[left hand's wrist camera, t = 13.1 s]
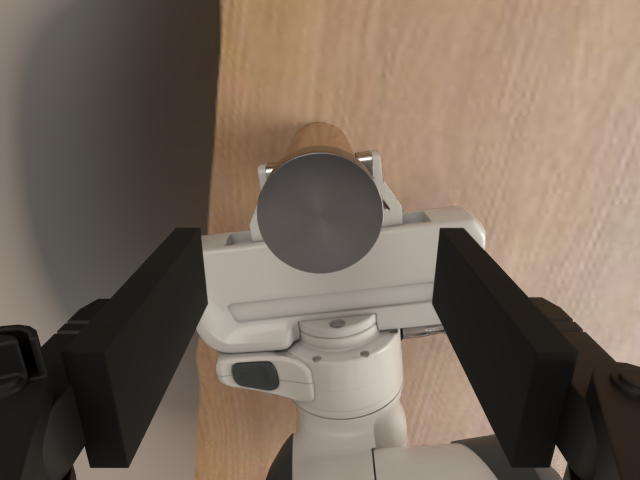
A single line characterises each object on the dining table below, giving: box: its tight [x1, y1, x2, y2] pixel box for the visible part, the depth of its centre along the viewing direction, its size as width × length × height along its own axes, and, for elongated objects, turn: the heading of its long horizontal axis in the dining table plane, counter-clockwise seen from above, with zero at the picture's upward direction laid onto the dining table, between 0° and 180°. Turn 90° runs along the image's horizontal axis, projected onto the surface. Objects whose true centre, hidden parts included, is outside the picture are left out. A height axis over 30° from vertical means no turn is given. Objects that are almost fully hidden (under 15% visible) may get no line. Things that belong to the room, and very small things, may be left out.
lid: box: [257, 146, 384, 274], centre depth 20 cm, size 6×6×2 cm
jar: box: [286, 123, 354, 156], centre depth 27 cm, size 5×5×16 cm
